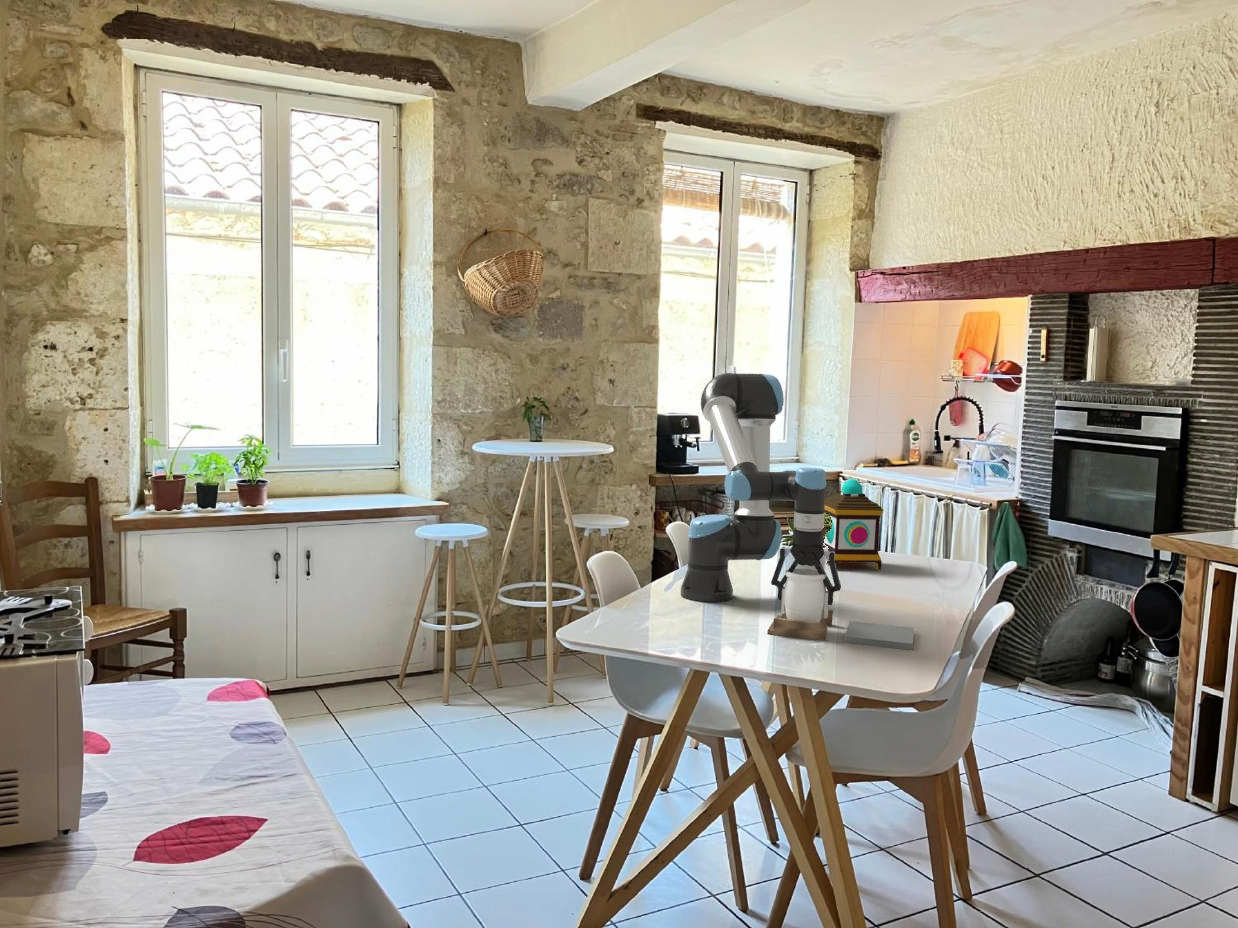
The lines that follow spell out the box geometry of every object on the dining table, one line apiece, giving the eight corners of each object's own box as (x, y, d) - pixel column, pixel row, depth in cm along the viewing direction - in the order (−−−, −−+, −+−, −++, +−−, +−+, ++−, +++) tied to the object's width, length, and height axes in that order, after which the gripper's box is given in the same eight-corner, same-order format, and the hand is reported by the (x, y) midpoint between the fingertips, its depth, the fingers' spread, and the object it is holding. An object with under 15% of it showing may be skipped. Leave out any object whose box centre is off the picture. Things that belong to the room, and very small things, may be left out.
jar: (799, 636, 246) (802, 577, 244) (774, 626, 255) (776, 569, 253) (832, 632, 250) (835, 574, 249) (807, 622, 260) (809, 566, 258)
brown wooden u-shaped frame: (767, 633, 247) (768, 618, 247) (777, 618, 263) (777, 603, 262) (825, 640, 243) (826, 624, 242) (832, 624, 258) (832, 609, 258)
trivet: (844, 642, 242) (844, 636, 242) (849, 626, 257) (849, 620, 257) (912, 649, 237) (912, 643, 237) (913, 633, 252) (913, 627, 252)
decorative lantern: (811, 559, 348) (815, 474, 345) (865, 559, 350) (870, 475, 347) (829, 571, 328) (834, 481, 325) (886, 571, 330) (891, 482, 327)
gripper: (761, 527, 250) (757, 613, 252) (853, 534, 243) (848, 622, 245) (766, 523, 257) (762, 607, 259) (855, 530, 250) (850, 615, 252)
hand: (804, 614), depth 252 cm, fingers closed on jar, 10 cm apart
